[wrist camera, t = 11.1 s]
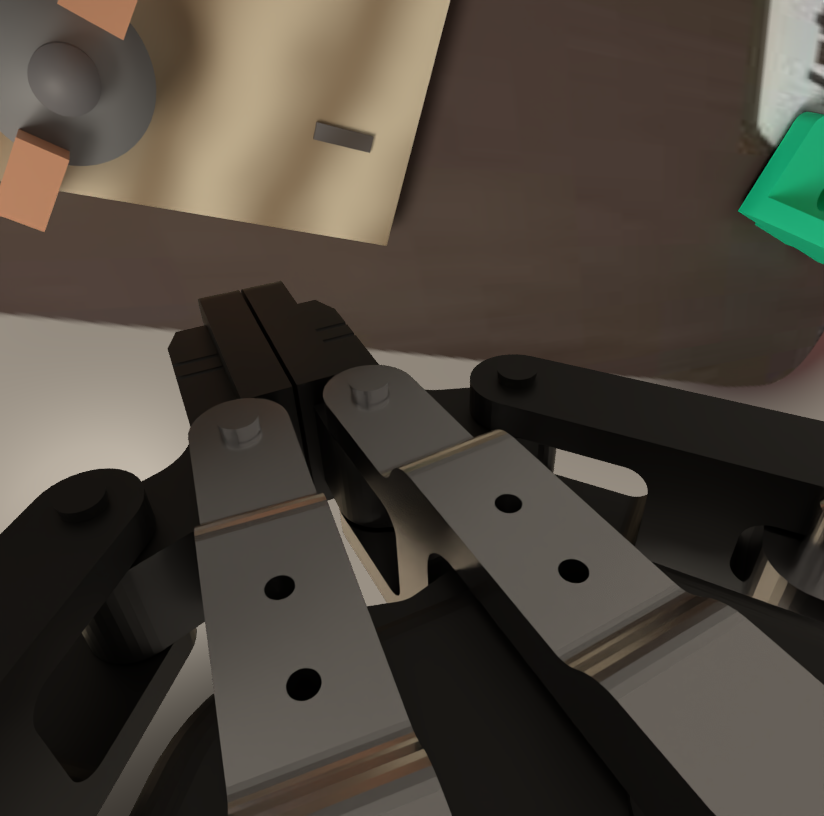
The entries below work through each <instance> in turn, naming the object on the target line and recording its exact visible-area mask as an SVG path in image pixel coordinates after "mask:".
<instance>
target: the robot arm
mask: <svg viewBox="0 0 824 816" xmlns="http://www.w3.org/2000/svg"><path fill="white" fill-rule="evenodd" d="M198 302H199V307H200V312H201V316H202V319H203V323H204V326H200V327H196V328H192V329H187V330H183V331H178V332H176V333H175V335H174V337H173V339H172V341H171V343H170V345H169V347H168V352H169V355H170V358H171V361H172V365H173V369H174V372H175V375H176V379H177V382H178V385H179V389H180V393H181V396H182V399H183V402H184V406H185V410H186V413H187V416H188V419H189V423H190V430H189V433H188V440H189V445H188V447H187V448H186V450H185V451H184V452H183V454H182V455H181V456H180V457H179V458H178V459H177V460H176V461H175V462H174V463H172V464H171V465H170V466H168V467H167V468H165V469H164V470H162V471H161V472H159V473H157V474H155V475H153V476H151V477H150V478H147V479H145V480H144V481H142V482H141V481H140V479H139V478H138V477H136V476H135V475H134V474H132V473H130V472H127V471H124V470H120V469H96V470H90V471H86V472H82V473H79V474H77V475H73V476H70V477H68V478H66V479H64V480H62V481H60V482H58V483H56V484H55V485H53V486H51V487H50V488H48V489H47V490H46V491H44V492H43V493H42V494H41V495H39V497H37V498H36V499H35V500H34V501H33V502H32V503H31V504H30V505H29V506H28V507H27V508H26V509H25V510H24V511H23V512H22V513H21V514H20V515H19V516H18V517H17V518H16V519H15V520H14V521H13V522H12V523H11V524H10V525H9V526H8V527H7V528H6V529H5V530H4V531H3V532H2V533H1V534H0V816H97V814H98V812H99V811H100V809H101V807H102V805H103V804H104V802H105V800H106V799H107V797H108V795H109V793H110V792H111V790H112V788H113V786H114V784H115V783H116V781H117V779H118V778H119V776H120V774H121V773H122V771H123V769H124V767H125V765H126V764H127V762H128V760H129V758H130V757H131V755H132V753H133V752H134V750H135V748H136V746H137V745H138V743H139V741H140V739H141V738H142V736H143V734H144V732H145V731H146V729H147V727H148V725H149V724H150V722H151V720H152V718H153V717H154V715H155V713H156V712H157V710H158V708H159V706H160V705H161V703H162V701H163V699H164V698H165V696H166V694H167V692H168V691H169V689H170V687H171V685H172V684H173V682H174V680H175V678H176V677H177V675H178V673H179V671H180V670H181V668H182V666H183V665H184V663H185V661H186V659H187V658H188V656H189V654H190V652H191V650H192V648H193V646H194V644H195V640H196V633H197V629H196V627H198V626H199V625H200V624H202V623H203V622H205V624H206V632H207V640H208V648H209V656H210V664H211V672H212V680H213V688H214V694H212V695H211V696H210V697H209V698H208V699H207V700H206V701H205V702H204V703H203V704H202V705H201V706H200V707H199V708H198V709H197V710H196V711H195V712H194V713H193V714H192V715H191V716H190V717H189V718H188V719H187V721H186V722H185V723H184V724H183V726H182V727H181V728H180V729H179V731H178V732H177V733H176V734H175V735H174V737H173V738H172V740H171V741H170V743H169V744H168V746H167V747H166V749H165V750H164V752H163V753H162V755H161V756H160V758H159V760H158V761H157V763H156V764H155V766H154V768H153V770H152V772H151V774H150V775H149V777H148V779H147V781H146V783H145V785H144V787H143V789H142V791H141V793H140V795H139V797H138V799H137V801H136V803H135V805H134V807H133V809H132V811H131V813H130V815H129V816H824V421H819V420H815V419H810V418H806V417H801V416H797V415H792V414H788V413H783V412H779V411H774V410H770V409H765V408H761V407H756V406H752V405H748V404H743V403H738V402H734V401H729V400H725V399H721V398H716V397H712V396H707V395H703V394H698V393H693V392H689V391H684V390H680V389H676V388H671V387H667V386H662V385H658V384H653V383H649V382H644V381H640V380H635V379H631V378H626V377H622V376H617V375H613V374H608V373H604V372H599V371H595V370H590V369H586V368H581V367H577V366H572V365H568V364H563V363H559V362H554V361H550V360H545V359H541V358H536V357H532V356H526V355H501V356H496V357H493V358H489V359H487V360H485V361H483V362H481V363H480V364H478V365H477V366H476V367H475V368H474V369H473V371H472V373H471V376H470V388H460V389H447V390H424V389H423V388H422V387H421V386H420V385H419V384H418V383H417V382H416V381H415V380H414V379H413V378H412V377H411V376H410V375H409V374H407V373H406V372H404V371H402V370H400V369H397V368H395V367H390V366H385V365H379V364H378V363H377V362H376V360H375V359H374V358H373V357H372V355H371V354H370V353H369V352H368V350H367V349H366V348H365V346H364V345H363V344H362V343H361V341H360V340H359V339H358V338H357V336H356V335H355V336H354V333H353V331H352V330H351V329H350V328H349V326H348V325H346V324H345V321H344V320H343V319H342V317H341V316H340V315H339V314H338V312H337V311H336V310H335V309H334V308H332V307H329V306H327V305H325V304H323V303H321V302H318V301H316V300H313V301H308V302H304V303H300V304H297V303H296V301H295V300H294V298H293V297H292V296H291V294H290V293H289V291H288V290H287V288H286V287H285V286H284V284H283V283H282V282H281V281H278V282H274V283H269V284H264V285H260V286H255V287H251V288H246V289H242V290H241V293H240V291H239V290H237V291H233V292H228V293H223V294H219V295H214V296H210V297H205V298H200V299H198ZM556 448H557V449H561V450H565V451H568V452H572V453H575V454H579V455H583V456H586V457H590V458H594V459H598V460H601V461H605V462H608V463H612V464H615V465H619V466H623V467H626V468H629V469H631V470H633V471H635V472H636V473H638V474H639V475H640V476H641V477H642V478H643V479H644V481H645V483H646V485H647V488H648V494H647V495H645V496H641V497H632V496H627V495H624V494H620V493H617V492H614V491H610V490H607V489H604V488H600V487H596V486H593V485H590V484H586V483H583V482H579V481H576V480H572V479H569V478H566V477H563V476H559V475H556V474H553V471H554V463H555V454H556ZM333 498H334V499H335V500H336V502H337V504H338V506H339V510H340V516H341V523H342V529H343V533H344V535H345V537H346V539H347V540H348V542H349V543H350V545H351V547H352V548H353V550H354V551H355V553H356V554H357V556H358V558H359V559H360V561H361V562H362V564H363V565H364V567H365V569H366V570H367V572H368V574H369V575H370V577H371V578H372V580H373V581H374V583H375V585H376V586H377V588H378V589H379V591H380V593H381V594H382V595H383V597H384V599H385V601H386V602H387V603H386V604H380V605H374V606H366V603H365V601H364V598H363V595H362V593H361V590H360V587H359V585H358V582H357V579H356V577H355V574H354V572H353V569H352V566H351V563H350V561H349V558H348V555H347V553H346V550H345V547H344V544H343V542H342V539H341V537H340V534H339V531H338V528H337V526H336V523H335V520H334V518H333V515H332V513H331V510H330V507H329V504H328V502H327V501H328V500H331V499H333Z"/></svg>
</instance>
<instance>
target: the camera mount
mask: <svg viewBox="0 0 824 816" xmlns="http://www.w3.org/2000/svg"><path fill="white" fill-rule="evenodd" d="M738 212H740V213H741V214H743V215H745V216H746V217H748V218H749V219H751V220H752V221H754V222H756V224H755V225H756V226H758V227H760V228H761V229H763V230H764V231H766V232H768V233H769V234H771V235H772V236H774V237H776V238H777V239H779V240H780V241H782V242H783V243H785V244H787V245H790V246H792V247H795V248H797V249H798V250H800V251H801V252H803V253H804V254H806V255H808V256H809V257H811V258H812V259H814V260H816V261H817V262H820V263H822V264H824V115H823V114H818V113H813V112H804V113H802V114H801V115H799V116H798V117H797V118H796V120H795V121H794V123H793V124H792V126H791V127H790V129H789V130H788V132H787V134H786V135H785V137H784V138H783V140H782V142H781V143H780V145H779V146H778V148H777V150H776V151H775V153H774V154H773V156H772V158H771V159H770V161H769V162H768V164H767V166H766V167H765V169H764V170H763V172H762V173H761V175H760V177H759V178H758V180H757V181H756V183H755V185H754V186H753V188H752V189H751V191H750V193H749V194H748V196H747V197H746V199H745V201H744V202H743V204H742V205H741V207H740V208H739V210H738Z"/></svg>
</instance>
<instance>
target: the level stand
mask: <svg viewBox="0 0 824 816" xmlns="http://www.w3.org/2000/svg"><path fill="white" fill-rule="evenodd" d="M449 3H450V0H138V1H137V4H136V6H135V9H134V12H133V15H132V18H131V20H130V23H131V25H132V26H133V27H134V28H135V30H136V31H137V33H138V34H139V36H140V38H141V39H142V41H143V43H144V45H145V47H146V49H147V51H148V53H149V56H150V59H151V62H152V65H153V69H154V74H155V80H156V103H155V109H154V113H153V116H152V120H151V122H150V124H149V126H148V129H147V130H146V132H145V133H144V135H143V136H142V138H141V139H140V140H139V141H138V143H137V144H136V145H135V146H134V147H133V148H131V149H130V150H129V151H128V152H126V153H125V154H123V155H121V156H120V157H118V158H116V159H113V160H111V161H109V162H105V163H101V164H98V165H90V166H71V165H68V166H67V169H66V172H65V175H64V177H63V180H62V183H61V186H60V189H59V191H63V192H69V193H75V194H81V195H87V196H93V197H99V198H105V199H111V200H117V201H123V202H129V203H135V204H141V205H147V206H152V207H158V208H164V209H170V210H176V211H182V212H188V213H194V214H200V215H206V216H212V217H218V218H224V219H230V220H236V221H242V222H248V223H254V224H260V225H266V226H272V227H278V228H284V229H290V230H296V231H302V232H307V233H313V234H319V235H325V236H331V237H337V238H343V239H349V240H355V241H361V242H367V243H373V244H379V245H385V246H386V245H387V242H388V238H389V234H390V230H391V226H392V222H393V218H394V215H395V211H396V207H397V203H398V199H399V195H400V192H401V188H402V184H403V180H404V176H405V172H406V169H407V165H408V161H409V157H410V153H411V149H412V145H413V142H414V138H415V134H416V130H417V126H418V122H419V119H420V115H421V111H422V107H423V103H424V99H425V95H426V92H427V88H428V84H429V80H430V76H431V72H432V69H433V65H434V61H435V57H436V53H437V49H438V46H439V42H440V38H441V34H442V30H443V26H444V22H445V19H446V15H447V11H448V7H449ZM13 144H14V142H12V141H11V140H10V139H9V138H7V137H6V136H5V135H4V134H3V133H2V132H1V131H0V181H2V178H3V175H4V172H5V169H6V166H7V163H8V160H9V157H10V153H11V150H12V147H13Z"/></svg>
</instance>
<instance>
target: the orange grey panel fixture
mask: <svg viewBox="0 0 824 816" xmlns="http://www.w3.org/2000/svg"><path fill="white" fill-rule="evenodd" d="M137 1H138V0H0V131H1V132H2V133H3V134H4V135H5V136H6V137H7V138H9V139H10V140H11V141H12V142H14V144H13V147H12V150H11V153H10V157H9V160H8V163H7V166H6V169H5V172H4V175H3V178H2V182H1V185H0V216H2V217H5V218H8V219H10V220H13V221H16V222H18V223H21V224H24V225H27V226H29V227H32V228H35V229H38V230H40V231H43V232H45V229H46V226H47V223H48V220H49V217H50V215H51V212H52V209H53V206H54V203H55V200H56V197H57V195H58V192H59V189H60V186H61V183H62V180H63V177H64V175H65V172H66V169H67V166H68V165H71V166H90V165H98V164H101V163H105V162H109V161H111V160H113V159H116V158H118V157H120V156H121V155H123V154H125V153H126V152H128V151H129V150H130V149H131V148H133V147H134V146H135V145H136V144H137V143H138V141H139V140H140V139H141V138H142V136H143V135H144V133H145V132H146V130H147V129H148V126H149V124H150V122H151V120H152V116H153V113H154V109H155V103H156V80H155V74H154V69H153V65H152V62H151V59H150V56H149V53H148V51H147V49H146V47H145V45H144V43H143V41H142V39H141V38H140V36H139V34H138V33H137V31H136V30H135V28H134V27H133V26H132V25H131V23H130V20H131V18H132V15H133V12H134V9H135V6H136V4H137Z"/></svg>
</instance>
